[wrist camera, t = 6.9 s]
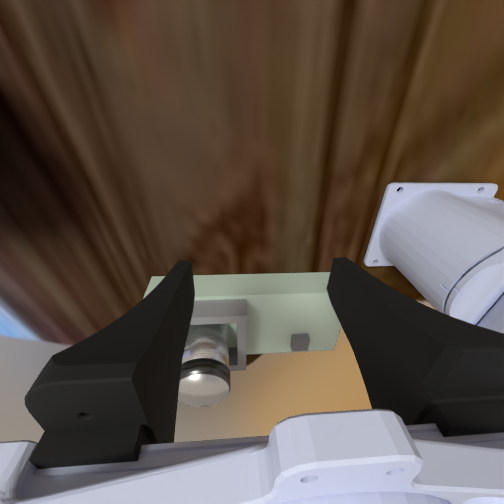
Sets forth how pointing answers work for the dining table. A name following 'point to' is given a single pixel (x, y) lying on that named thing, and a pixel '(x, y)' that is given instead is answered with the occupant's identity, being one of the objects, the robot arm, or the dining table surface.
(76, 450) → the robot arm
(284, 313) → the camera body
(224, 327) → the lens
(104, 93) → the dining table surface
